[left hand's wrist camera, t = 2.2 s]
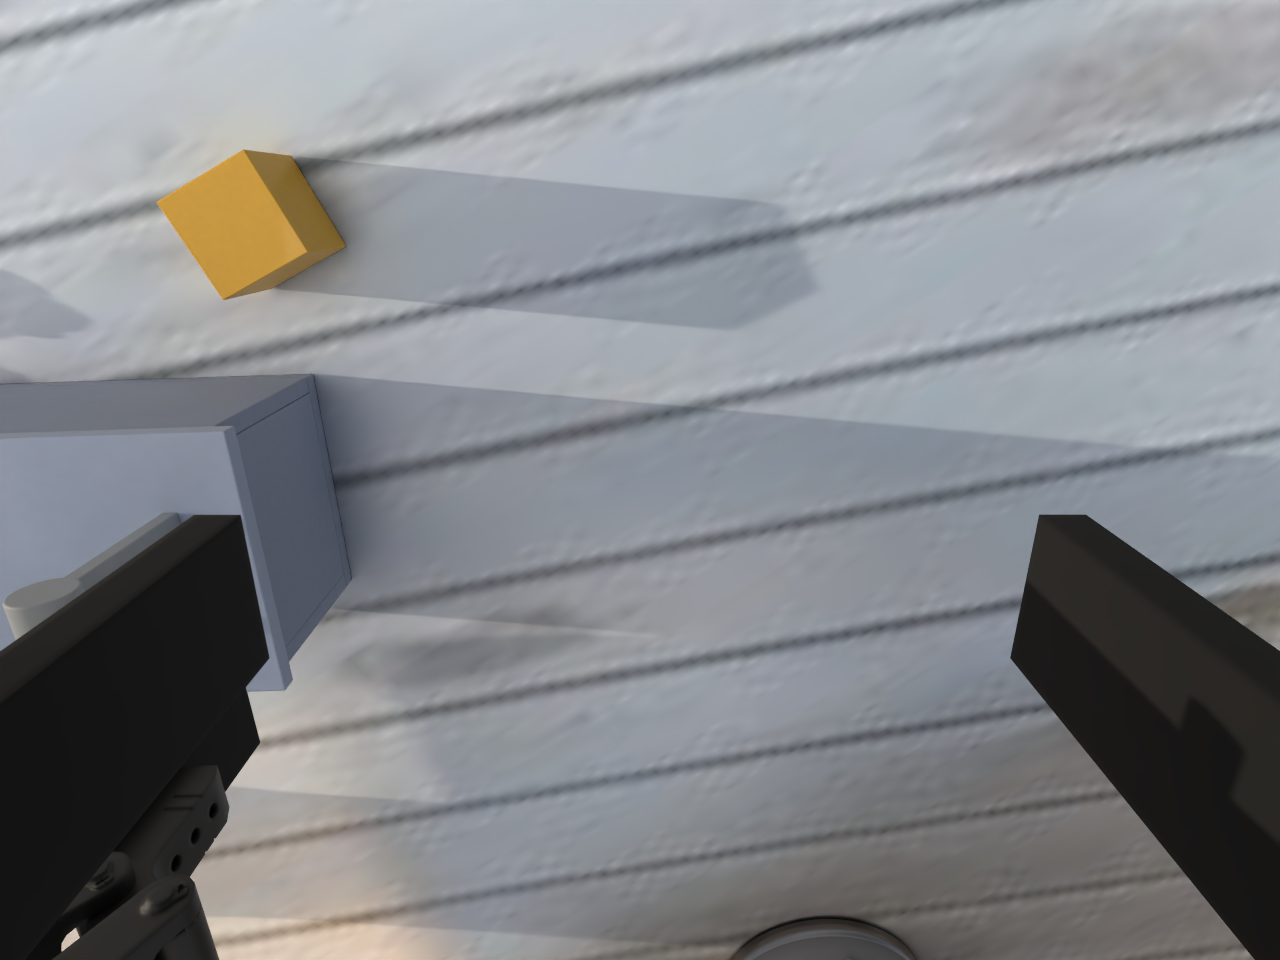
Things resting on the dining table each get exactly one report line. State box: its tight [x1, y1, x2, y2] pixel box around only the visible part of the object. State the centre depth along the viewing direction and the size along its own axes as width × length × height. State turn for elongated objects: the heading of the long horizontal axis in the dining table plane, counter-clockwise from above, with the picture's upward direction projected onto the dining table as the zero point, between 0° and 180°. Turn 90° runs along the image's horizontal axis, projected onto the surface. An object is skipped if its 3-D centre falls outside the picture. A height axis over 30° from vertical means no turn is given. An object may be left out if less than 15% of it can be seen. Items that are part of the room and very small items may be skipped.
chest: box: [0, 374, 351, 661], centre depth 37 cm, size 17×12×10 cm
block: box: [157, 150, 346, 300], centre depth 35 cm, size 5×5×5 cm
